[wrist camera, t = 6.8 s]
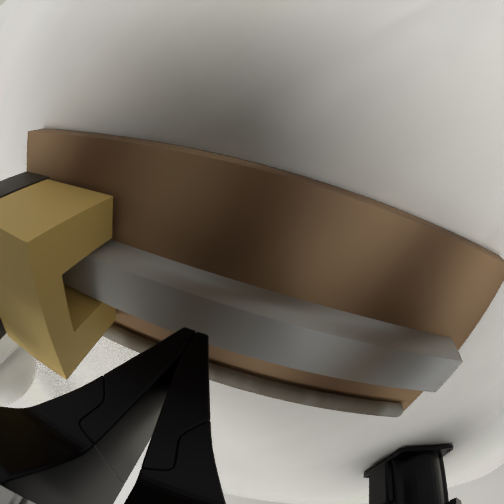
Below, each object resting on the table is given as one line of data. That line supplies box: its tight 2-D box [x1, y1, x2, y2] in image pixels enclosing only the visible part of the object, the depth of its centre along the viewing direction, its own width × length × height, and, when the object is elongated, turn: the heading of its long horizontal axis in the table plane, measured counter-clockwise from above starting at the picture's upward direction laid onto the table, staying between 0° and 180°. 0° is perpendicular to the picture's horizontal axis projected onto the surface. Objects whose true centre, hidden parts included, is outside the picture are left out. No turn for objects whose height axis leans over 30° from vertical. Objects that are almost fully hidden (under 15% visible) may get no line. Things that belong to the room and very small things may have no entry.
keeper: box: [0, 179, 117, 379], centre depth 9 cm, size 4×6×4 cm, turn 166°
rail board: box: [0, 129, 504, 417], centre depth 9 cm, size 22×10×6 cm, turn 76°
